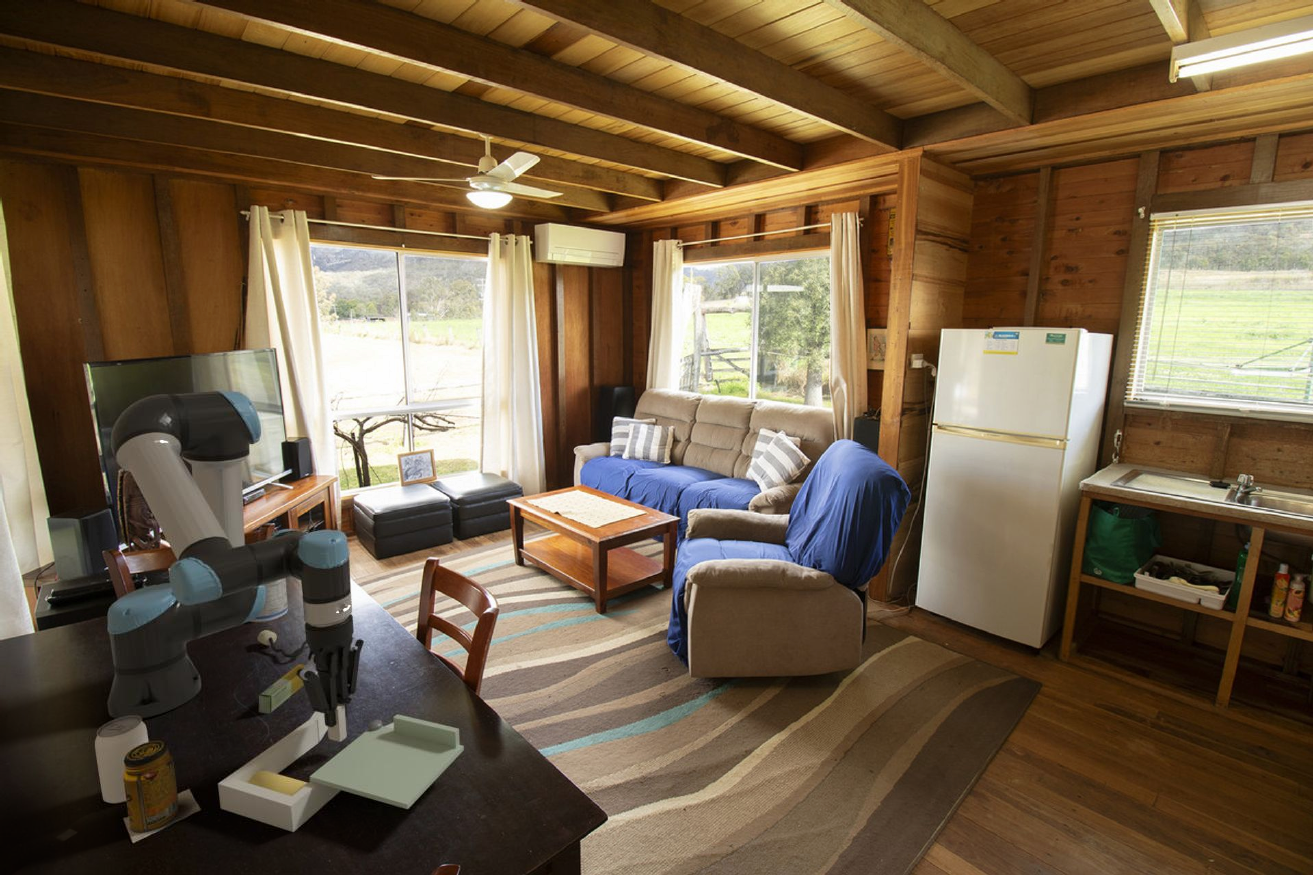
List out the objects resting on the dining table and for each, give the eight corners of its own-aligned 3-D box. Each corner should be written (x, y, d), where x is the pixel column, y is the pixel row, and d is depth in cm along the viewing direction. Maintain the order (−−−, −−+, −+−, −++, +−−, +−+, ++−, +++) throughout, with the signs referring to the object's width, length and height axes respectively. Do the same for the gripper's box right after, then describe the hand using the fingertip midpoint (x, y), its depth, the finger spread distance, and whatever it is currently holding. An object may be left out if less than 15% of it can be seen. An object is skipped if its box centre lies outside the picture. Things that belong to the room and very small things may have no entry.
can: (124, 807, 98) (114, 740, 96) (92, 801, 99) (82, 735, 97) (163, 779, 104) (155, 716, 102) (133, 774, 105) (124, 711, 103)
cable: (354, 637, 152) (353, 624, 152) (283, 663, 139) (282, 648, 139) (325, 621, 161) (324, 609, 161) (256, 643, 149) (255, 630, 148)
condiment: (123, 819, 95) (113, 751, 93) (189, 789, 102) (180, 725, 100) (133, 844, 91) (122, 772, 89) (201, 811, 97) (193, 744, 95)
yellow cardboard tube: (242, 799, 98) (250, 772, 100) (263, 794, 102) (271, 768, 103) (289, 814, 96) (297, 786, 97) (309, 808, 99) (317, 781, 100)
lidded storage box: (303, 835, 93) (301, 809, 92) (211, 805, 98) (208, 780, 98) (405, 743, 114) (404, 721, 113) (324, 723, 120) (322, 702, 119)
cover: (407, 809, 92) (406, 786, 91) (307, 779, 98) (305, 758, 97) (465, 747, 106) (465, 727, 105) (374, 725, 112) (373, 706, 111)
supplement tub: (240, 619, 163) (234, 567, 161) (276, 606, 171) (272, 556, 169) (258, 628, 158) (253, 575, 156) (295, 614, 166) (291, 563, 164)
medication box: (270, 714, 123) (269, 697, 122) (257, 712, 123) (257, 695, 122) (309, 680, 134) (309, 664, 134) (298, 678, 135) (298, 662, 134)
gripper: (314, 638, 100) (324, 765, 104) (373, 605, 112) (380, 720, 116) (280, 630, 102) (290, 755, 106) (341, 599, 114) (349, 712, 118)
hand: (337, 737), depth 111 cm, fingers closed
